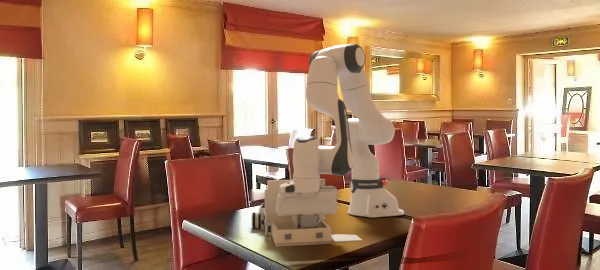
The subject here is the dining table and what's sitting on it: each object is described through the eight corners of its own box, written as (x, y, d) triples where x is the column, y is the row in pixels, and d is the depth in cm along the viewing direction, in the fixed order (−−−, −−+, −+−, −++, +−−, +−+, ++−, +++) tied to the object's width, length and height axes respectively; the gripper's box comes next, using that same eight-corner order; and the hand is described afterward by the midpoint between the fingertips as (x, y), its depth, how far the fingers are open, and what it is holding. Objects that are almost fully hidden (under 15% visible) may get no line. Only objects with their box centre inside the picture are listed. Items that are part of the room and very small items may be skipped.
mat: (354, 234, 158) (354, 233, 158) (362, 241, 149) (362, 239, 149) (328, 235, 157) (328, 234, 157) (335, 242, 148) (335, 241, 148)
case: (324, 233, 161) (324, 179, 161) (335, 244, 146) (334, 184, 145) (264, 235, 158) (263, 180, 157) (268, 247, 142) (267, 186, 142)
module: (312, 234, 154) (312, 209, 154) (316, 239, 147) (316, 213, 147) (297, 235, 154) (297, 210, 153) (301, 240, 147) (300, 214, 146)
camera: (253, 224, 176) (252, 198, 176) (275, 224, 177) (275, 198, 177) (251, 234, 161) (250, 205, 160) (275, 233, 161) (275, 205, 161)
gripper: (335, 183, 155) (335, 224, 155) (274, 185, 152) (275, 227, 152) (339, 186, 149) (339, 228, 149) (276, 188, 145) (277, 231, 146)
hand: (306, 228), depth 150 cm, fingers closed on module, 5 cm apart
